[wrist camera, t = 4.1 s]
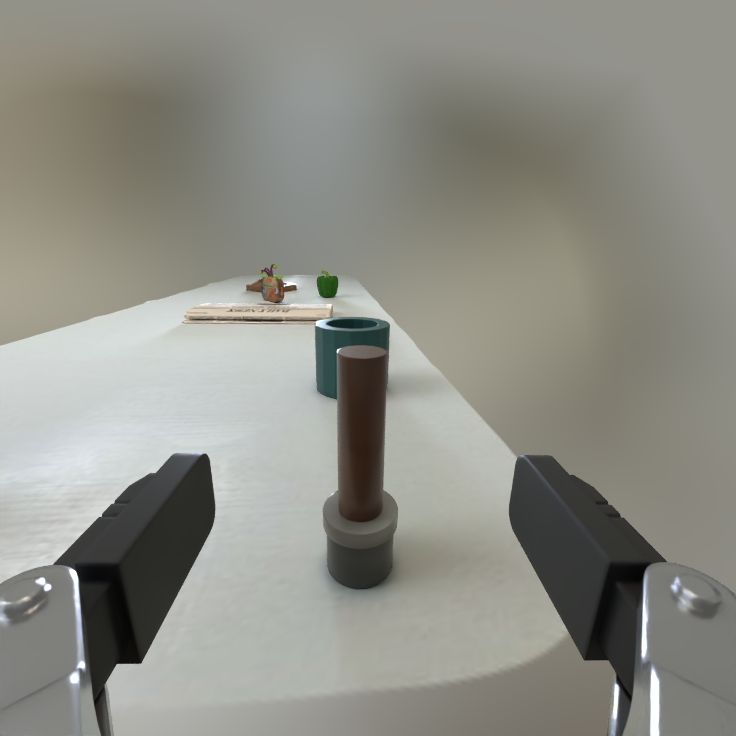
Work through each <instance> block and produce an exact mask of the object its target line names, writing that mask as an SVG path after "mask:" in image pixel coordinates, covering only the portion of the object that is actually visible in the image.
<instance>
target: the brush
mask: <svg viewBox="0 0 736 736" xmlns="http://www.w3.org/2000/svg"><path fill="white" fill-rule="evenodd" d="M386 383H387V351H386V350H385V349H383V348H380V347H375V346H367V345H355V346H347V347H343V348H340V349H339V350H338V351H337V429H338V491H336V492H334V493H333V494H331V495H330V496H329V497H328V498H327V500H326V501H325V503H324V506H323V526H324V529H325V532H326V533H327V563H328V569H329V572H330V574H331V575H332V577H333V578H334V579H335V580H336V581H337V582H339V583H340V584H342V585H344V586H347V587H350V588H356V589H363V588H369V587H373V586H375V585H377V584H379V583H381V582H382V581H383V580H384V579H385V578H386V577H387V576H388V574H389V573H390V571H391V568H392V555H393V534H394V532H395V530H396V528H397V518H398V507H397V504H396V502H395V500H394V499H393V497H392V496H391V495H389V494H388V493H387V492H385V491H383V478H384V446H385V415H386Z"/></svg>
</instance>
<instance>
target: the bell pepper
mask: <svg viewBox="0 0 736 736" xmlns="http://www.w3.org/2000/svg"><path fill="white" fill-rule="evenodd" d="M321 273H325V274H326V276H327V277H325V276H320V277H318V278H317V287H318V291H319V294H320V296H322V297H334V296H335V295H336V293H337V288H338V278H337V276H332V277H331V276H329V275H328V272H326V271H321Z"/></svg>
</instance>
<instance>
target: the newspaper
mask: <svg viewBox="0 0 736 736" xmlns="http://www.w3.org/2000/svg"><path fill="white" fill-rule="evenodd" d="M332 313H333V304H243V303H205V304H202V305H198V306H195V307H193V308H191V309H189V310H188V311H186V313H185V315H184V317H185V319H189V320H185V321H183V322H182V323H280V324H315V323H316V322H318V321H319V320H324V319H328V318H331V316H332Z"/></svg>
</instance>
